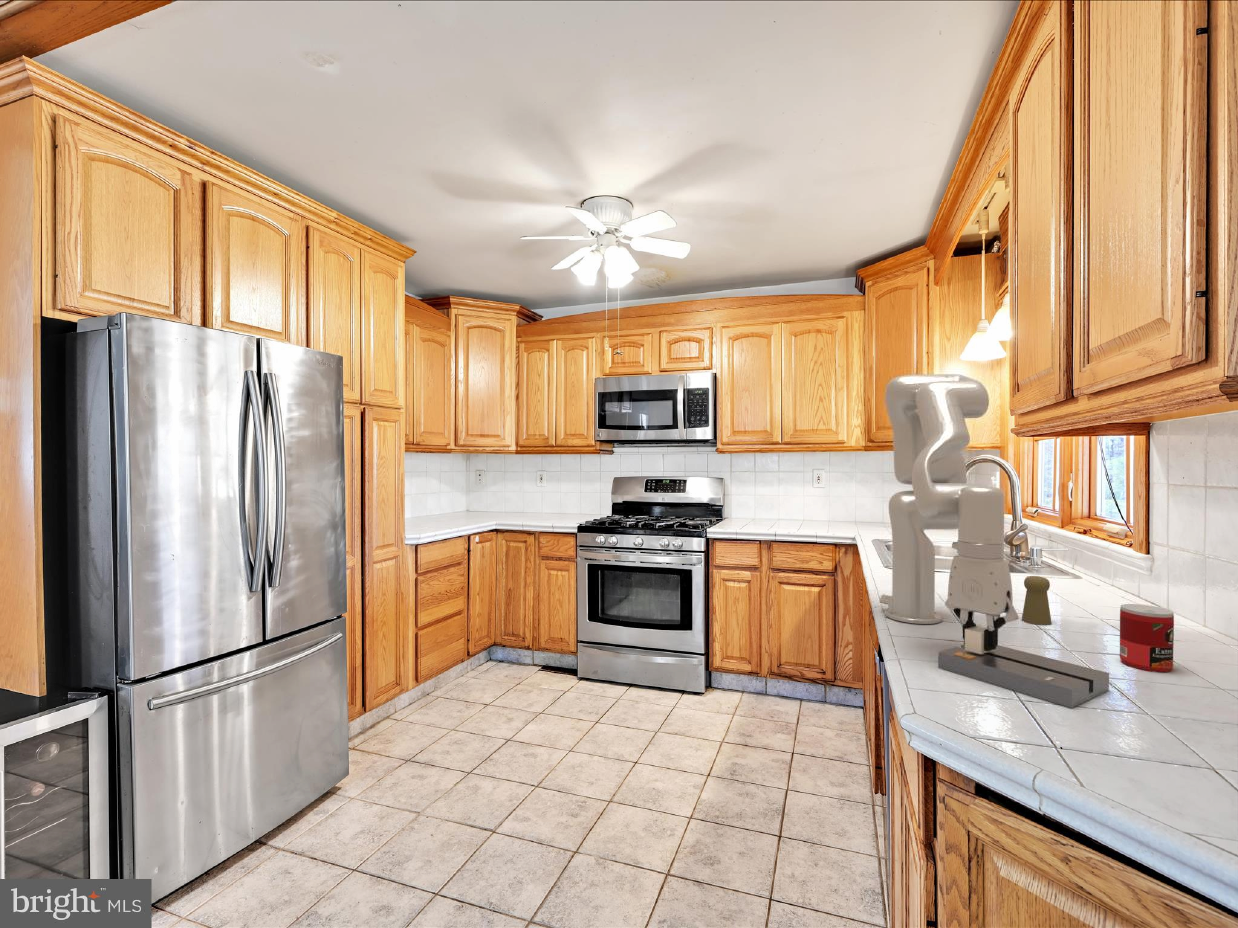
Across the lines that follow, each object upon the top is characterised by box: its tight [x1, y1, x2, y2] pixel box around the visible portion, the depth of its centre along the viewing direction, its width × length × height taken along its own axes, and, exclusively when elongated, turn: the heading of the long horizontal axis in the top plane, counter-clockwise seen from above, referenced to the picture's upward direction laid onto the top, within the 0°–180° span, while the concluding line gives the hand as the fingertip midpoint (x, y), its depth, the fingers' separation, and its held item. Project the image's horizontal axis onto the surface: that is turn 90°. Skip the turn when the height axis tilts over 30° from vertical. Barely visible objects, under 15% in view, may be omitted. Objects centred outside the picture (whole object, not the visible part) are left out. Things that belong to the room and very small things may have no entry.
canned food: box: [1119, 603, 1175, 673], centre depth 117 cm, size 8×8×11 cm
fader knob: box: [965, 625, 995, 654], centre depth 117 cm, size 3×5×6 cm, turn 122°
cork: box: [1021, 575, 1052, 626], centre depth 148 cm, size 6×6×11 cm
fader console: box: [937, 643, 1110, 709], centre depth 111 cm, size 22×14×3 cm, turn 32°
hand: (979, 646), depth 117 cm, fingers closed on fader knob, 3 cm apart
